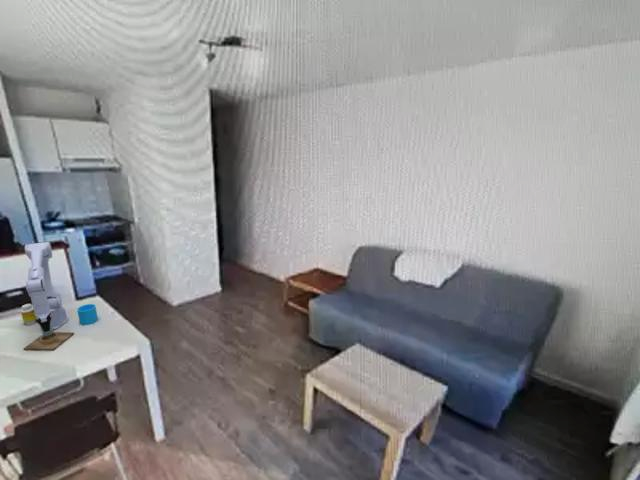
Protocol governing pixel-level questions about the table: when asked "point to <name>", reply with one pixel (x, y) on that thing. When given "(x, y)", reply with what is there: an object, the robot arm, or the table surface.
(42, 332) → the teal peg
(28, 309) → the supplement bottle
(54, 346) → the socket board
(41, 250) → the robot arm
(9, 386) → the table surface
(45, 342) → the brass collar
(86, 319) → the mug
